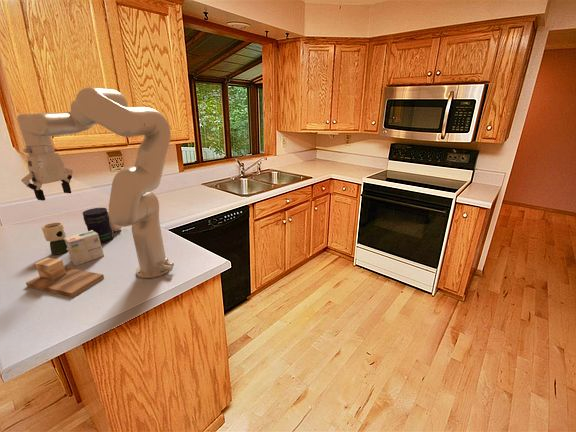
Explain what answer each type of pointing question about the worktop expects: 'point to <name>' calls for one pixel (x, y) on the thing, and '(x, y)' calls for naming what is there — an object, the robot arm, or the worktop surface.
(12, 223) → the worktop surface
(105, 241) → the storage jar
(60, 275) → the block
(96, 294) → the worktop surface
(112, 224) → the egg
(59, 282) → the board
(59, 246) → the character mug
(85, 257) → the light bulb box
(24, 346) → the worktop surface
